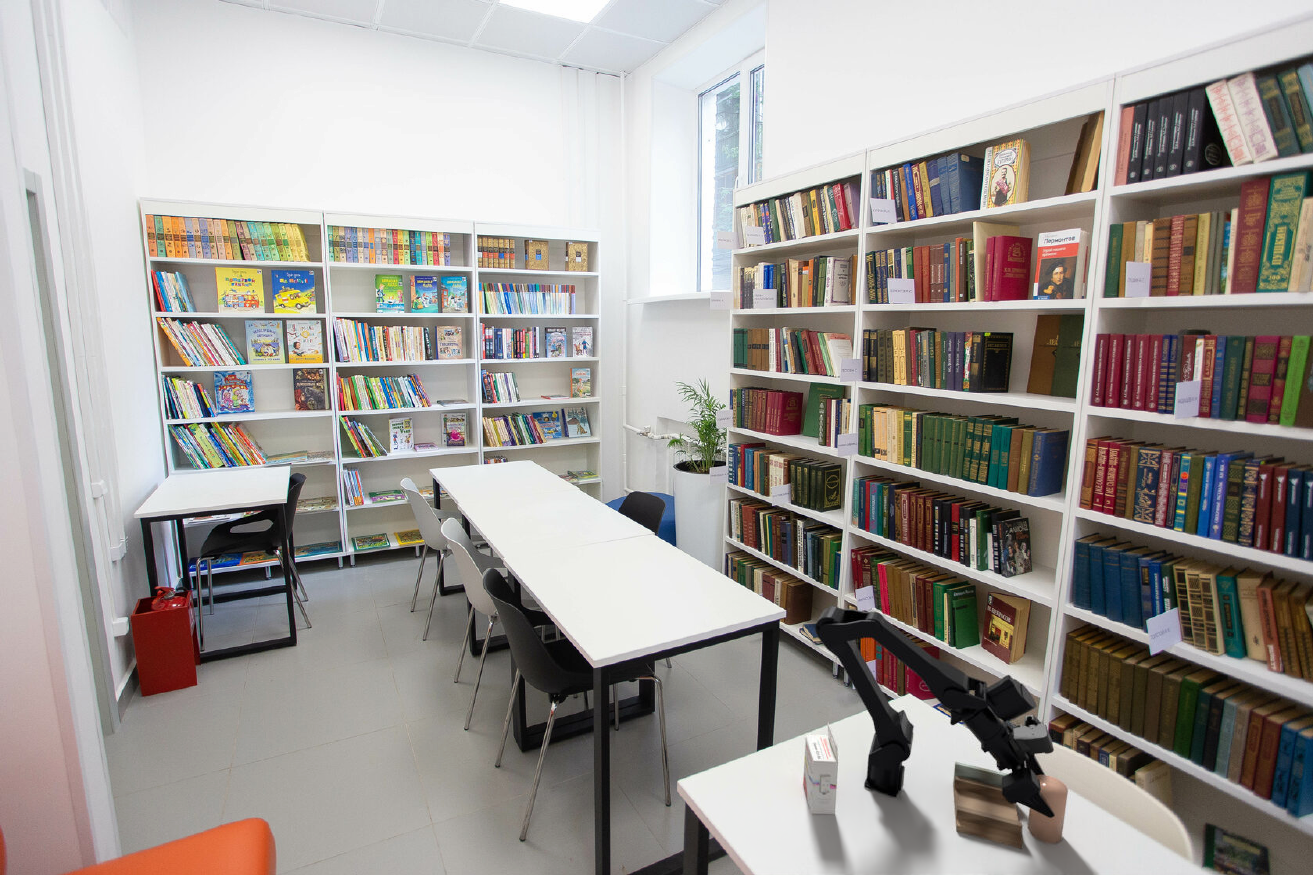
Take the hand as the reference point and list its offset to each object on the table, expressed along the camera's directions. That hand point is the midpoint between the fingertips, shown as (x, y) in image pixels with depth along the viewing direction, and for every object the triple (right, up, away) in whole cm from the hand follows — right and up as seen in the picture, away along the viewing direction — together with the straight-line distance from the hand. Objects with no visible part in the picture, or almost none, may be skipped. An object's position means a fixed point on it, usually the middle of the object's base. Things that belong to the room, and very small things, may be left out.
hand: (1050, 800), depth 122 cm
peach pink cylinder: (0, -7, +1) cm, 7 cm away
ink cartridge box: (-41, -5, +9) cm, 43 cm away
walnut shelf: (-9, -6, +6) cm, 12 cm away
